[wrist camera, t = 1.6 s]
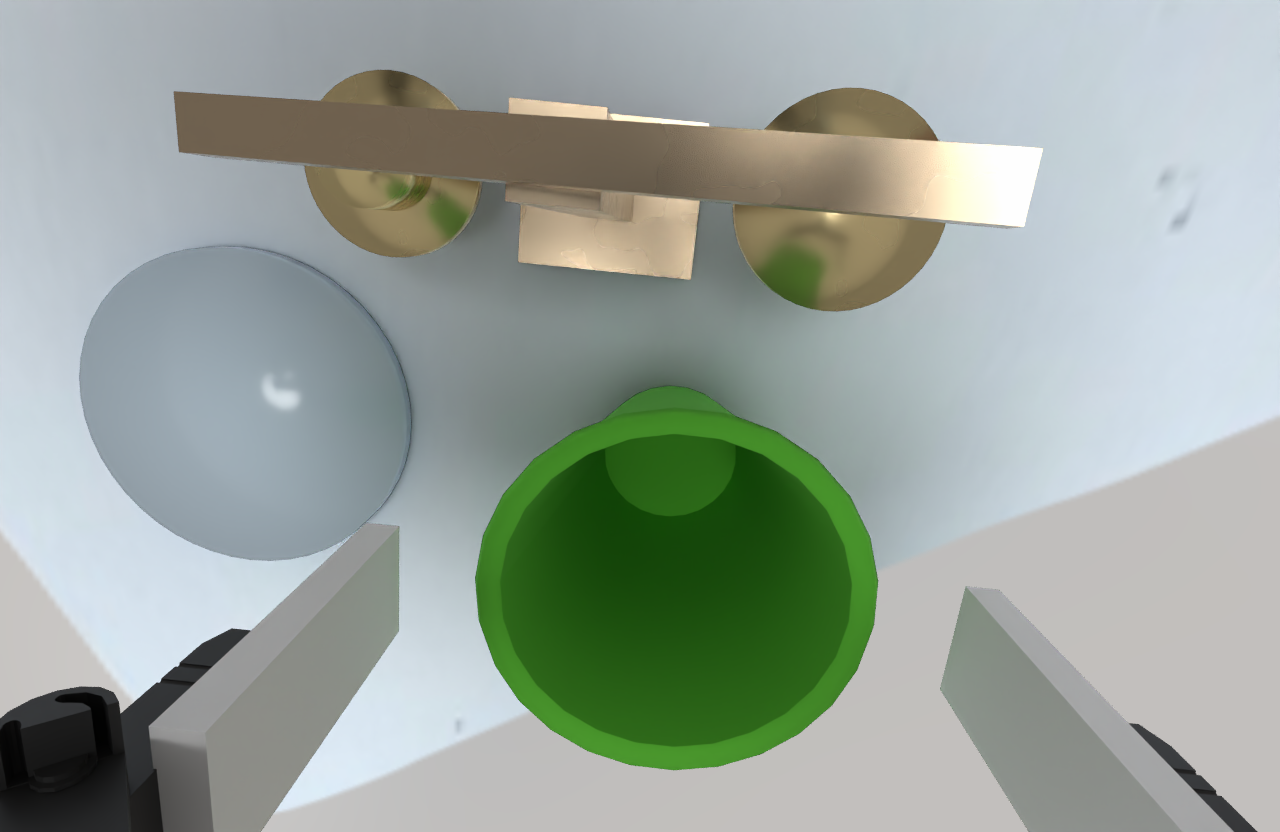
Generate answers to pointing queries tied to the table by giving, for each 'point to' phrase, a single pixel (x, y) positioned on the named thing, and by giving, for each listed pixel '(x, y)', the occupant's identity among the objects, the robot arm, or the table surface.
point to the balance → (632, 180)
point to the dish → (245, 401)
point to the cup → (676, 585)
